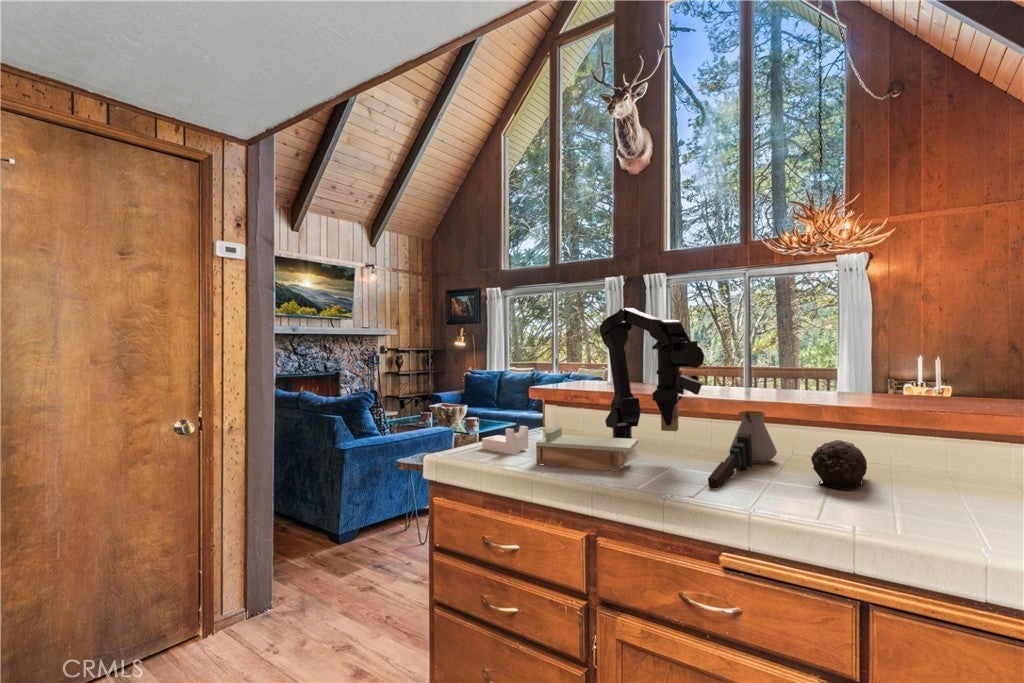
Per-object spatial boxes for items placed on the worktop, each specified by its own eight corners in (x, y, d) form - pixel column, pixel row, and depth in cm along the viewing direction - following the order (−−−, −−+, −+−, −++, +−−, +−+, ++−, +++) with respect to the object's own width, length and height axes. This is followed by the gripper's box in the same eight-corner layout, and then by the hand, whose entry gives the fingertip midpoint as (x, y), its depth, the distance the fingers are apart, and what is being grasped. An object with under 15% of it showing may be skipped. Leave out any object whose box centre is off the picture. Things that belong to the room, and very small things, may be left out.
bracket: (528, 451, 160) (528, 426, 160) (512, 455, 155) (511, 429, 155) (498, 446, 169) (498, 422, 169) (482, 449, 164) (481, 425, 164)
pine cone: (869, 476, 124) (868, 433, 124) (866, 495, 109) (865, 447, 109) (818, 470, 130) (817, 430, 130) (808, 488, 115) (808, 442, 115)
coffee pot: (732, 454, 149) (731, 401, 149) (778, 457, 144) (777, 402, 144) (722, 471, 131) (721, 411, 131) (773, 476, 125) (772, 413, 125)
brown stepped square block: (663, 428, 145) (662, 399, 145) (678, 428, 143) (677, 400, 143) (661, 430, 141) (660, 401, 141) (676, 431, 140) (676, 401, 140)
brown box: (551, 455, 152) (550, 438, 152) (627, 460, 144) (627, 442, 144) (535, 465, 141) (535, 446, 141) (617, 472, 132) (617, 452, 132)
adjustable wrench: (709, 507, 118) (742, 463, 137) (721, 510, 116) (753, 464, 135) (705, 473, 117) (739, 432, 135) (718, 474, 115) (750, 433, 134)
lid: (550, 437, 152) (550, 426, 152) (638, 442, 143) (637, 430, 143) (536, 445, 141) (535, 433, 141) (629, 451, 132) (629, 438, 132)
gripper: (697, 368, 130) (698, 431, 131) (702, 364, 148) (703, 420, 148) (651, 368, 135) (652, 429, 135) (661, 364, 152) (662, 418, 152)
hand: (669, 424), depth 142 cm, fingers closed on brown stepped square block, 4 cm apart
